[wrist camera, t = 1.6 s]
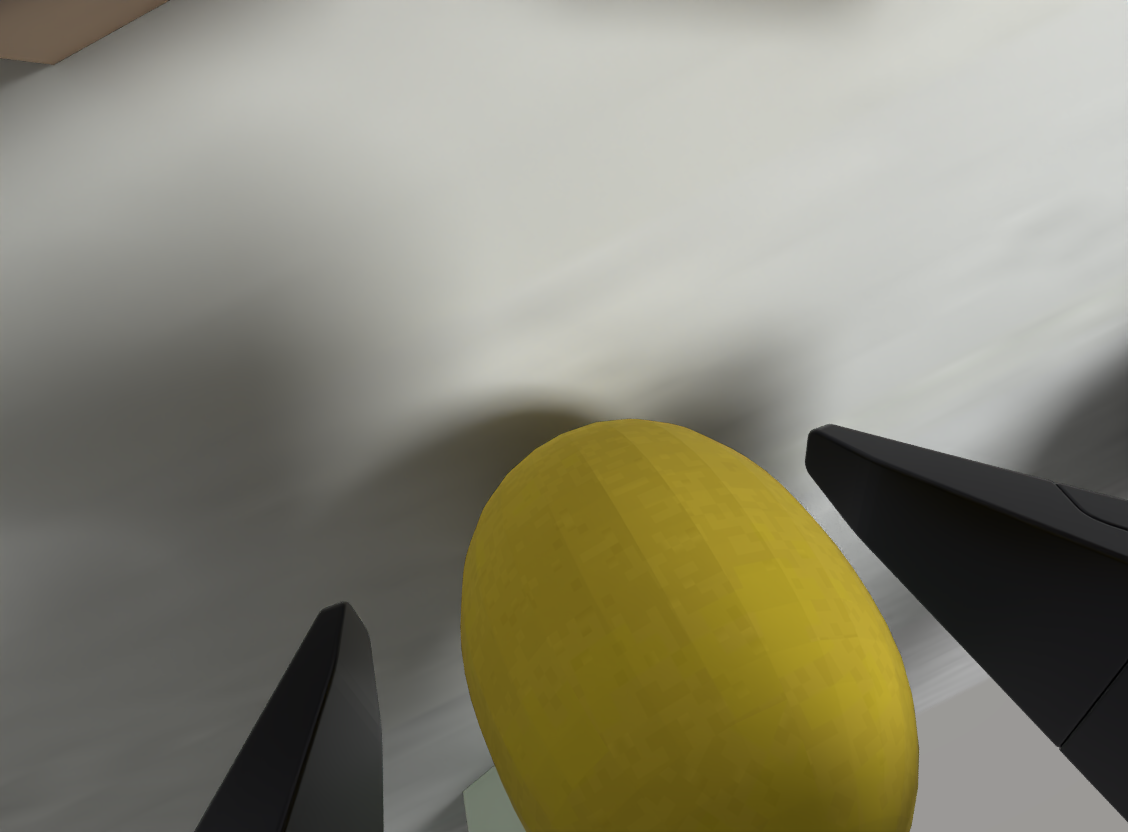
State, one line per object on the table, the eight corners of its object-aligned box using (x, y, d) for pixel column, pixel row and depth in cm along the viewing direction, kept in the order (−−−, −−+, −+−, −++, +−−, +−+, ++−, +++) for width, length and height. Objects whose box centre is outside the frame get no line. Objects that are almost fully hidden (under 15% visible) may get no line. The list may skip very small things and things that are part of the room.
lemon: (579, 588, 13) (789, 1067, 7) (377, 517, 10) (397, 1260, 4) (728, 423, 12) (1169, 812, 5) (549, 287, 9) (1047, 788, 2)
